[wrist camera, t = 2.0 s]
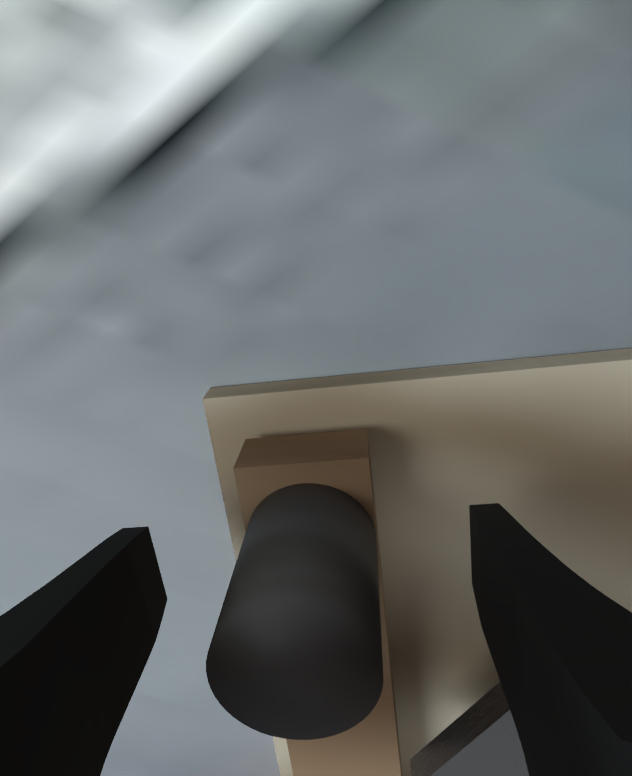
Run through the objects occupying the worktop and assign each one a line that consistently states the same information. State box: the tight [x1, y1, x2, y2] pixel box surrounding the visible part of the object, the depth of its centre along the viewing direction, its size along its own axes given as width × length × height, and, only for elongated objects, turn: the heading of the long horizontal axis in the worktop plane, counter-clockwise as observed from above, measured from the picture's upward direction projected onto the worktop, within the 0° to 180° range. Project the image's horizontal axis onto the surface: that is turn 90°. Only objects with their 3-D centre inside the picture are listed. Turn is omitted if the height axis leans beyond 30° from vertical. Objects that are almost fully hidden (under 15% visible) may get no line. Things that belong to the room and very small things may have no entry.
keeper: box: [410, 682, 529, 776], centre depth 16 cm, size 6×4×4 cm
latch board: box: [203, 348, 632, 776], centre depth 17 cm, size 19×14×1 cm
